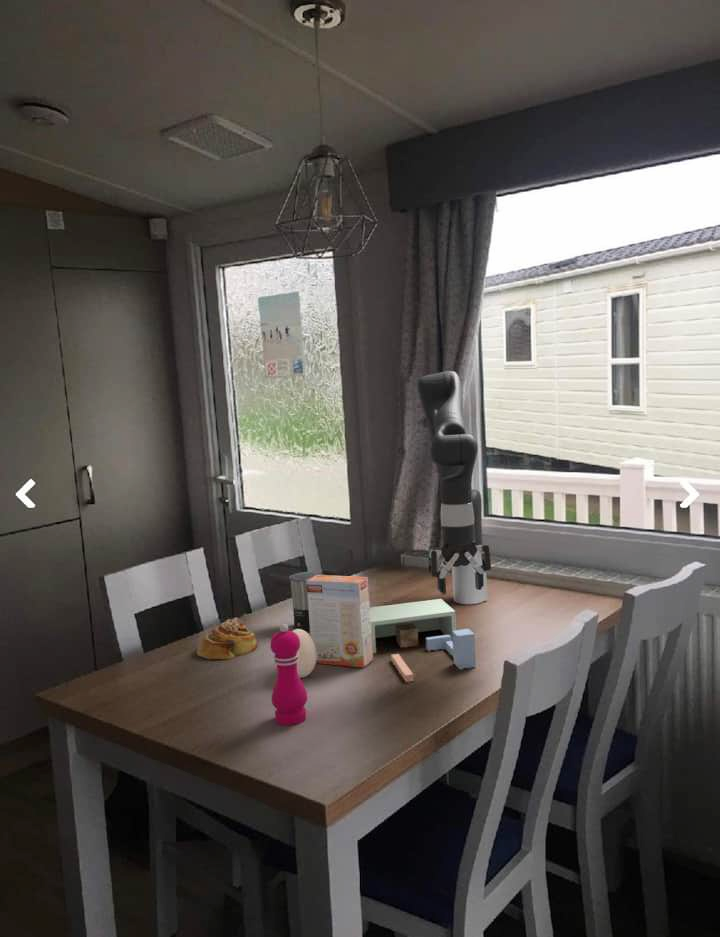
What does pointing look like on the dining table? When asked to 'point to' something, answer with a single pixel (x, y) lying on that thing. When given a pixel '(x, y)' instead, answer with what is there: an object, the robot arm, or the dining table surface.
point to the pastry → (227, 641)
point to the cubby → (412, 618)
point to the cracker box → (340, 620)
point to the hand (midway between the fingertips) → (460, 591)
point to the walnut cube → (407, 635)
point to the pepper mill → (287, 679)
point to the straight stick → (402, 667)
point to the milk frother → (301, 599)
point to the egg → (305, 653)
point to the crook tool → (456, 646)
